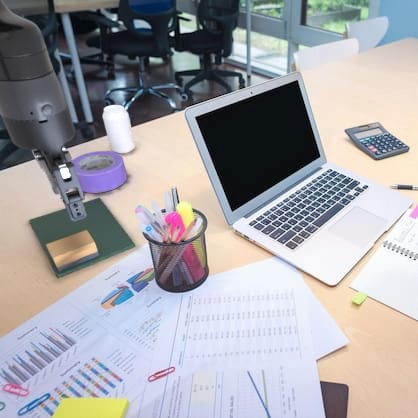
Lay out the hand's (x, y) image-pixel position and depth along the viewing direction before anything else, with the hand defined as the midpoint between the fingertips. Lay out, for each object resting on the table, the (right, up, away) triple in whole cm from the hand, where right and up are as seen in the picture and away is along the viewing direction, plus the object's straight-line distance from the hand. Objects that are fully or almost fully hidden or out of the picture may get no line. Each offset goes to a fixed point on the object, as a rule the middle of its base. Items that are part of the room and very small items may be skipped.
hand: (70, 204), depth 61 cm
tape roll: (-14, +6, +35) cm, 38 cm away
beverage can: (-15, +16, +47) cm, 52 cm away
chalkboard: (-9, -6, +19) cm, 22 cm away
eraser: (-7, -10, +13) cm, 18 cm away
